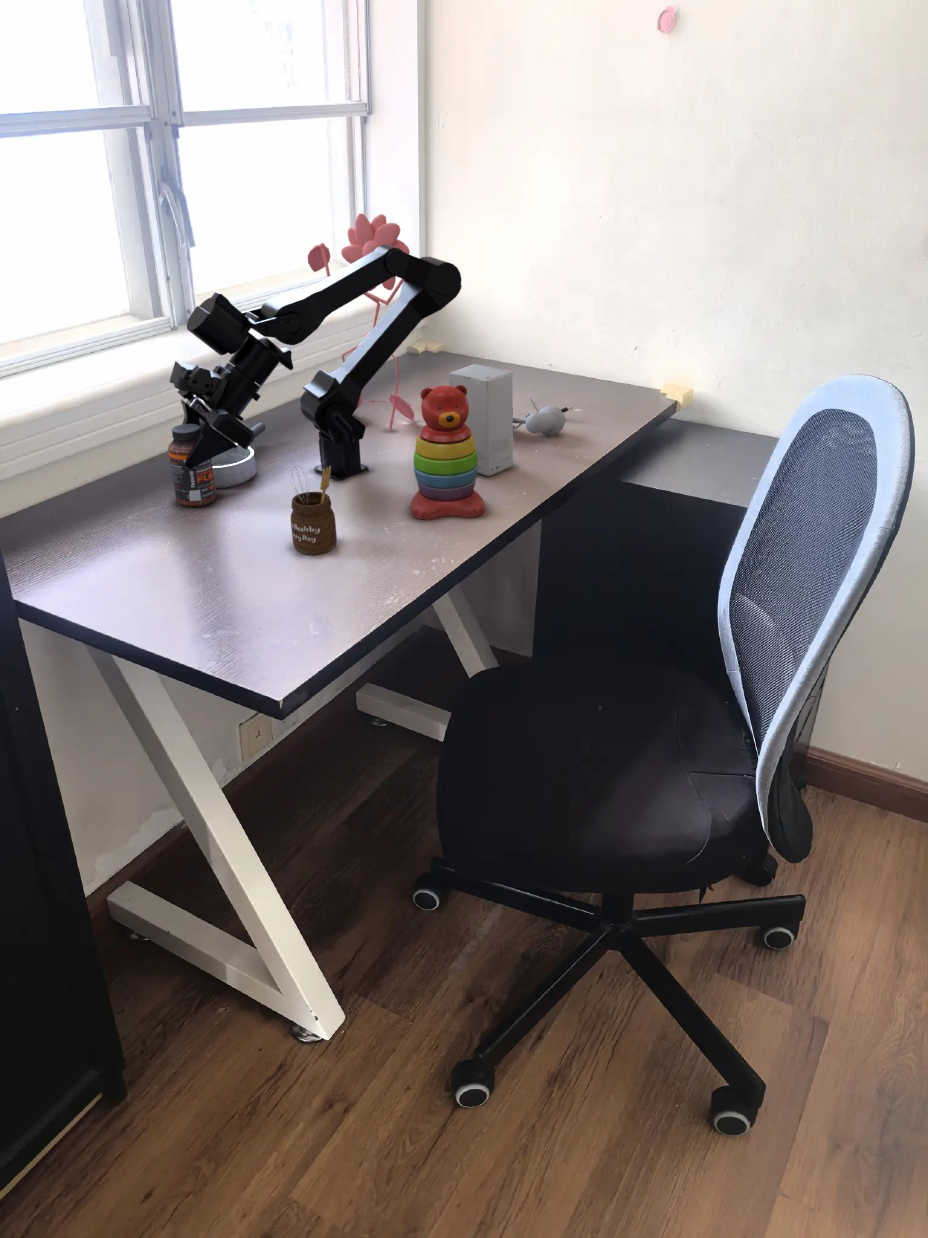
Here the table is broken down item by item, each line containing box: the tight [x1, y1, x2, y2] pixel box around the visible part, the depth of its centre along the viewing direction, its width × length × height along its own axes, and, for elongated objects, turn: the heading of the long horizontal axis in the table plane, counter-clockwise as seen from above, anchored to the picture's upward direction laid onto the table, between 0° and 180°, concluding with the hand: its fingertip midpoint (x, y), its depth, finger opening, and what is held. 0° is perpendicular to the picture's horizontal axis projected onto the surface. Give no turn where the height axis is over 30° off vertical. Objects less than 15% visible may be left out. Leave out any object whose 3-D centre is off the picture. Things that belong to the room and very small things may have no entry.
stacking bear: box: [410, 385, 486, 520], centre depth 132 cm, size 11×10×18 cm
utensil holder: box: [289, 465, 338, 556], centre depth 122 cm, size 6×6×12 cm
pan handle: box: [230, 422, 267, 451], centre depth 155 cm, size 11×2×2 cm, turn 166°
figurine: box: [307, 213, 421, 436], centre depth 163 cm, size 15×26×35 cm, turn 66°
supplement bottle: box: [167, 423, 217, 508], centre depth 136 cm, size 6×6×11 cm
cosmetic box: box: [448, 363, 514, 477], centre depth 146 cm, size 8×7×16 cm
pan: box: [211, 443, 257, 489], centre depth 146 cm, size 11×11×4 cm
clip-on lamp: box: [513, 395, 573, 437], centre depth 164 cm, size 12×6×18 cm
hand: (180, 460), depth 135 cm, fingers closed on supplement bottle, 6 cm apart
